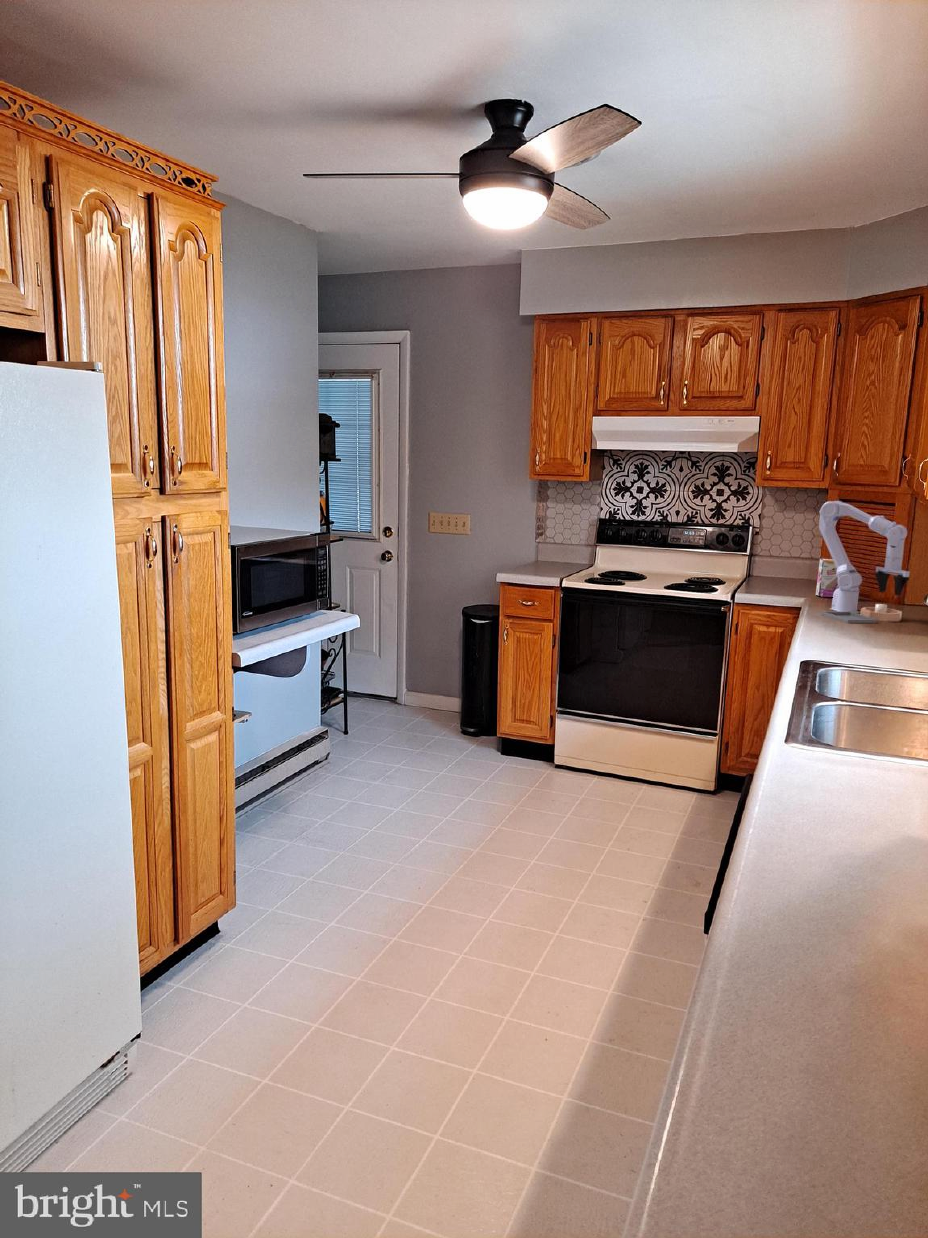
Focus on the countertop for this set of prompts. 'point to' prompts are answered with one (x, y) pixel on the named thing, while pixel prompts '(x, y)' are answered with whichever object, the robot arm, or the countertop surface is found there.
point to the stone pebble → (881, 608)
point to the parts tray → (849, 617)
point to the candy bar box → (827, 578)
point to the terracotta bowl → (882, 614)
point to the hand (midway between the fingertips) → (889, 593)
